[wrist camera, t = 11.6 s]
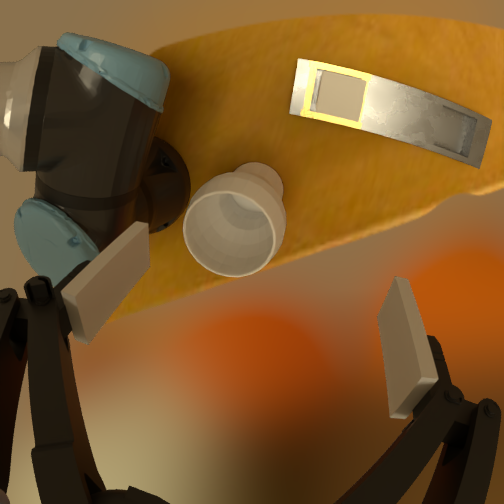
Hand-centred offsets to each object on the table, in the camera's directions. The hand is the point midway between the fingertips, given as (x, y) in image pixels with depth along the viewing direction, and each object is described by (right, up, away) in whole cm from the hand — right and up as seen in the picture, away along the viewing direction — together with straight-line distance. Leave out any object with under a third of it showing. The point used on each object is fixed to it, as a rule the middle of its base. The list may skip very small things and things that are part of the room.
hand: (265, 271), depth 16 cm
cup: (0, +10, +28) cm, 30 cm away
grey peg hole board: (+17, +19, +19) cm, 32 cm away
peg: (+9, +21, +19) cm, 30 cm away
